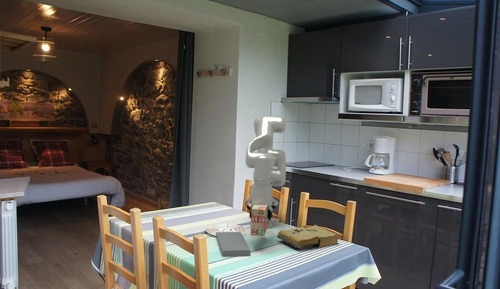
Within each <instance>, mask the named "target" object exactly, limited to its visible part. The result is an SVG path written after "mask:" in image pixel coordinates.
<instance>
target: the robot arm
mask: <svg viewBox="0 0 500 289" xmlns="http://www.w3.org/2000/svg"><path fill="white" fill-rule="evenodd" d="M286 125H287V124H286V119H285V117H283V116H272V115H271V116H269V115H267V116H265V115H264V116H259V117H256V118H254V121H253V130H254V134H255V136H256V137H255V138H253V139H252V140H251V141H250V142H249V143H248V144H247V147H246V150H245V151H246V152H245V158H244V159H245V165H246V167H247V168H249V169H253V170H254V171H253V177H252V178H253V179H252V180H253V184H251V188H250V193H249V194H250V195H249V198H247V199H246V200H245V201H243V205H244V206H245V207H246V209H247V210H248V211H249V216H248V217H249V218H250V219H251V210H252V207H253V205H254V204H268V205H267V207H268V208H269V210H268V219H269V224H268V226H267V229H269V228H272V227H273V226H274V223H279V222H280V219H279V218H276V217H273V212H274V210H275V209H276V208H277V206H278V205H279V201H278V200H276V199H275V198H274V197H273V196H274V195H273V187H283V186H284V185H285V184H286V173H287V171H286V170H287V156H286V152H285V151H284V150H281V149H274V133H276V134H284V133H285V132H286V128H287V126H286ZM249 204H250V205H249ZM249 225H250V226H251V221H250V223H249Z"/></svg>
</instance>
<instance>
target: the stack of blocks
mask: <svg viewBox="0 0 500 289" xmlns="http://www.w3.org/2000/svg"><path fill="white" fill-rule="evenodd" d="M267 205H268V204H254V205H253V207H252V210H251V218H250V222H251V225H250V233H249V234H250V236H253V237H255V236H257V237H265V235H266V233H267V231H268V230H267V229H268V228H267V226H268V224H269V219H268V210H269V208H268V207H267Z"/></svg>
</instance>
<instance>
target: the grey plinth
mask: <svg viewBox="0 0 500 289" xmlns="http://www.w3.org/2000/svg"><path fill="white" fill-rule="evenodd" d="M215 239H216V241H217V245H218V248H219V251H220V253H221V256H222V258H223V257H225V258H226V257H250V256H251V252H252V250H251V248H250V247H249V245H248V243H247V241H246V239H245V237H244V235H243V233H242V232H241V231H216V232H215Z"/></svg>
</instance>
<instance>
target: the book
mask: <svg viewBox="0 0 500 289" xmlns="http://www.w3.org/2000/svg"><path fill="white" fill-rule="evenodd" d="M276 238H278V239H280V240H281V241H284V243H285V244H287V245H289V246H291V247H293V248H295V249H297V250H305V249H311V248H316V249H321V248H327V247H331V246H337V245H339V234H338V233H337V232H334V233H333V232H332V231H329V230H327V229H326V228H325V229H324V228H322V227H320V226H318V225H317V224H314V225H313V226H309V227H308V226H307V227H297V226H296V227H292V228H291V229H281V230H279V231H278V233H277V235H276Z"/></svg>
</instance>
